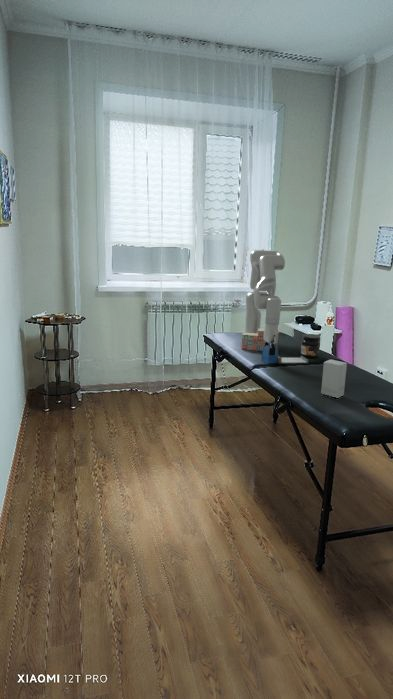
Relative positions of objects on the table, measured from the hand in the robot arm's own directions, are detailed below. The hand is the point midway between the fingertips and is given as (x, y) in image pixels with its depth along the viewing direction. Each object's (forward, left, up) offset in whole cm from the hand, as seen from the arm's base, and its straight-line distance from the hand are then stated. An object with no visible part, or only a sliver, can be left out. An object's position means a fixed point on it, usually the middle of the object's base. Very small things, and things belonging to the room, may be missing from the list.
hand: (269, 352), depth 250 cm
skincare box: (+53, +11, -5) cm, 54 cm away
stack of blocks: (-25, +3, -5) cm, 26 cm away
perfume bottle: (0, +1, -5) cm, 5 cm away
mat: (-1, +14, -5) cm, 15 cm away
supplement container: (-10, +28, -5) cm, 30 cm away
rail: (-1, +5, -5) cm, 7 cm away
